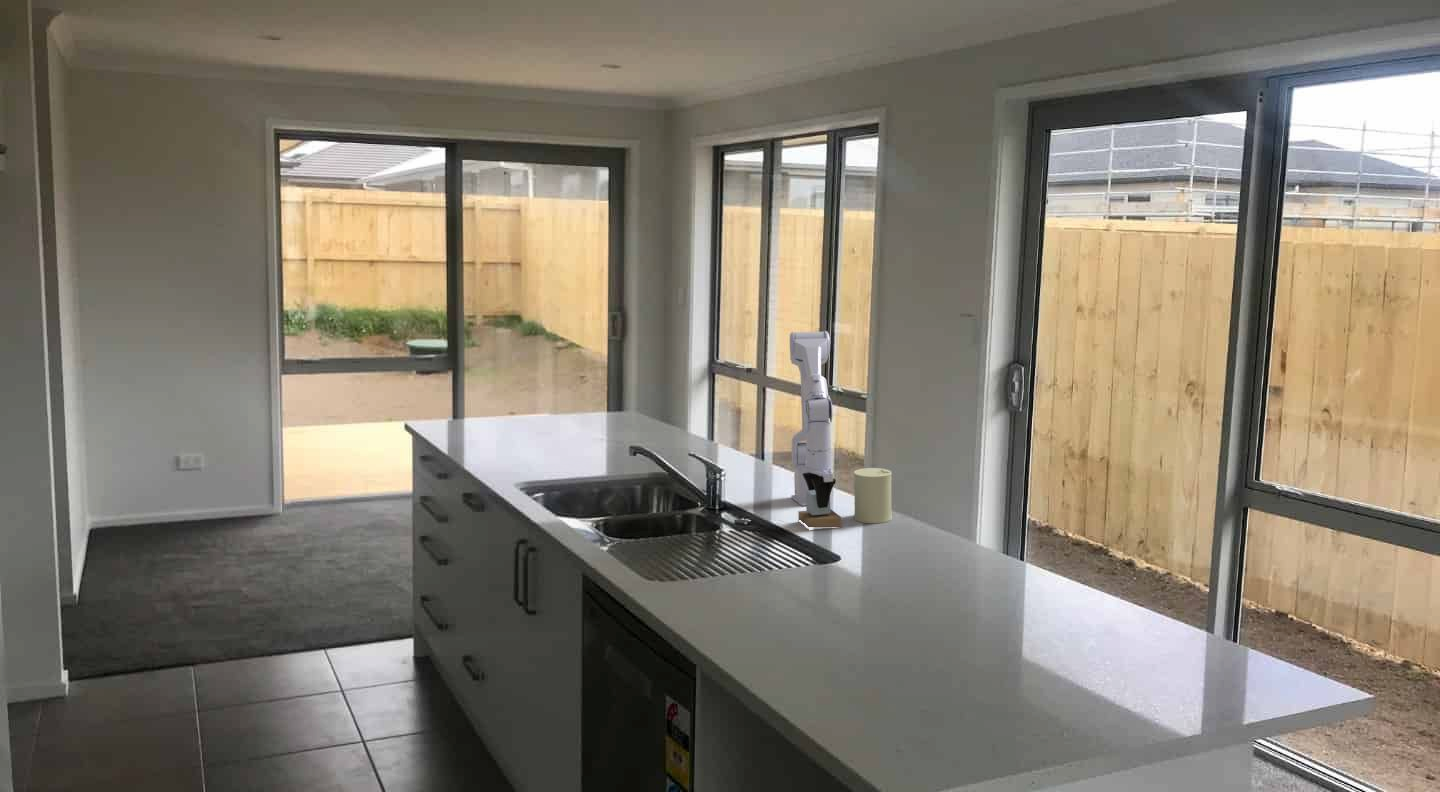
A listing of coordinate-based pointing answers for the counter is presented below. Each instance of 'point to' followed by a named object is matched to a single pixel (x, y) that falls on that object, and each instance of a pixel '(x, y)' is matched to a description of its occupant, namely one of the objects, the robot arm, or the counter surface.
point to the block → (815, 504)
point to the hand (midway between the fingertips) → (819, 504)
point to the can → (872, 495)
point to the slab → (820, 519)
